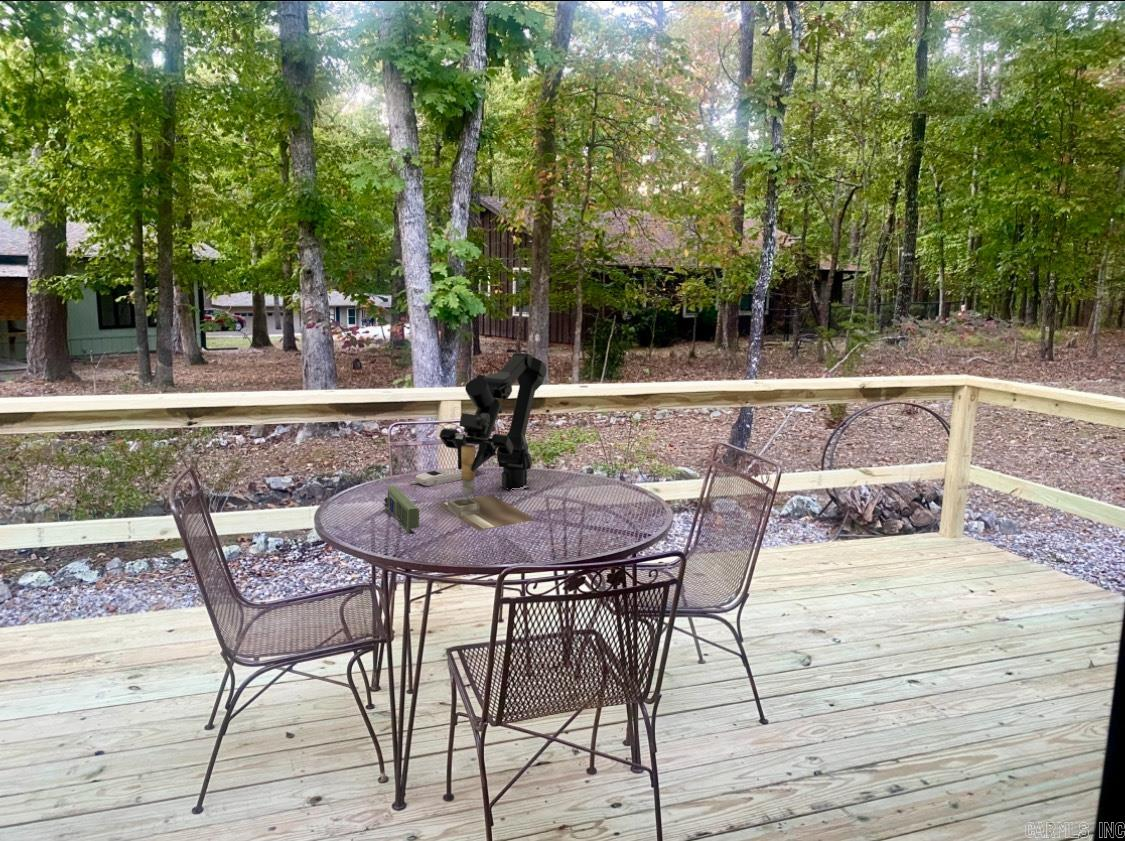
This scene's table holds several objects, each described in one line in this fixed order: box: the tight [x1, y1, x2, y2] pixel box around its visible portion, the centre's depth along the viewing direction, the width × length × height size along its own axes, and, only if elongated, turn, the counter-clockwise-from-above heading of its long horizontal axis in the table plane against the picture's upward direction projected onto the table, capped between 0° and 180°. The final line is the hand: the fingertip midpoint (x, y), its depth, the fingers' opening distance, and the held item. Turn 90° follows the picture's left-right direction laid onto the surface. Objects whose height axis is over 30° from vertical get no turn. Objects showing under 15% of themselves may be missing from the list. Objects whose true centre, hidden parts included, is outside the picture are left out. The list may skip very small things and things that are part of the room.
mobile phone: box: [409, 453, 477, 487], centre depth 220 cm, size 6×6×25 cm
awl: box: [461, 444, 476, 495], centre depth 184 cm, size 3×3×12 cm
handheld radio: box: [383, 484, 420, 535], centre depth 186 cm, size 7×3×25 cm
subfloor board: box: [438, 494, 536, 532], centre depth 188 cm, size 16×23×4 cm
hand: (465, 469), depth 182 cm, fingers closed on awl, 3 cm apart
